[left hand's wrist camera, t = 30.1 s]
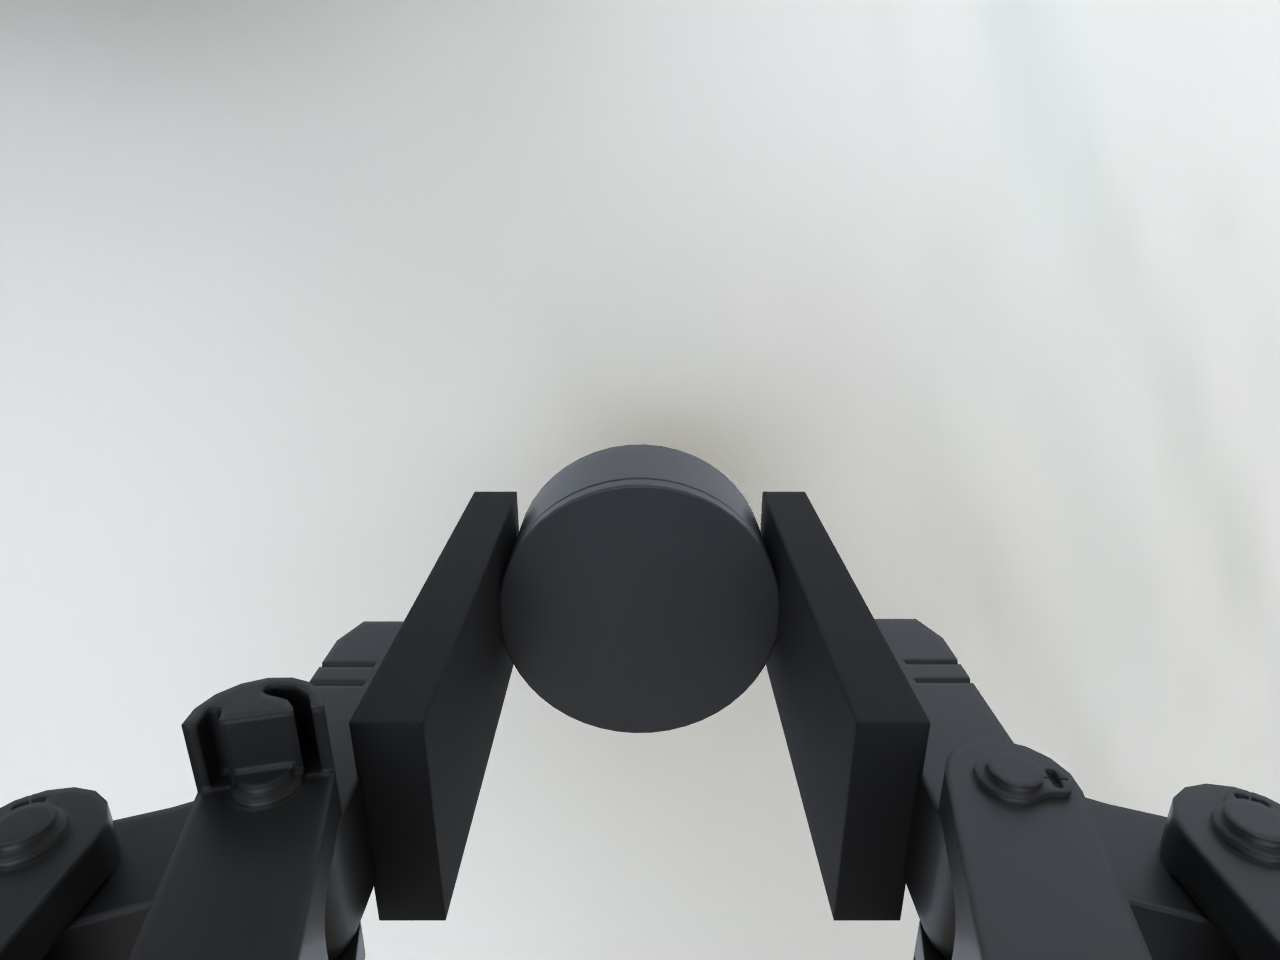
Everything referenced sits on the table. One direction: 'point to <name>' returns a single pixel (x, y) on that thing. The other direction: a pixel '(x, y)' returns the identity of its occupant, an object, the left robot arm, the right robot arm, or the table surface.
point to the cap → (639, 591)
